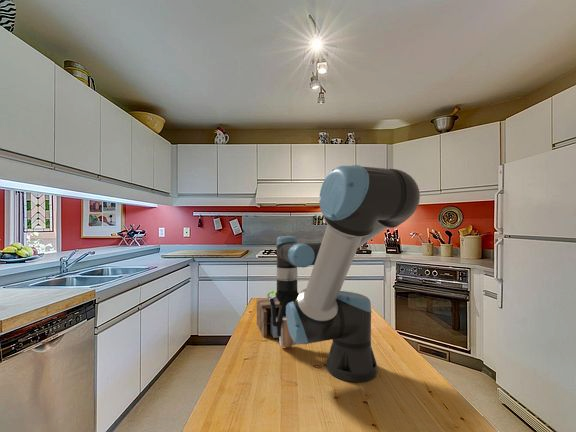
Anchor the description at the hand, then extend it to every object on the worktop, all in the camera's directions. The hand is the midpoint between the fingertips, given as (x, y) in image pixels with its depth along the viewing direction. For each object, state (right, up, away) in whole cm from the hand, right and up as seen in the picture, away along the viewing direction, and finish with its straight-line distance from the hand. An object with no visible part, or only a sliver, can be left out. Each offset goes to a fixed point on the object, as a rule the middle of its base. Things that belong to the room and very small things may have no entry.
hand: (287, 344), depth 104 cm
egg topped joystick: (-2, -1, +6) cm, 6 cm away
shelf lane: (-5, -2, +17) cm, 18 cm away
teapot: (-2, -2, +41) cm, 41 cm away
